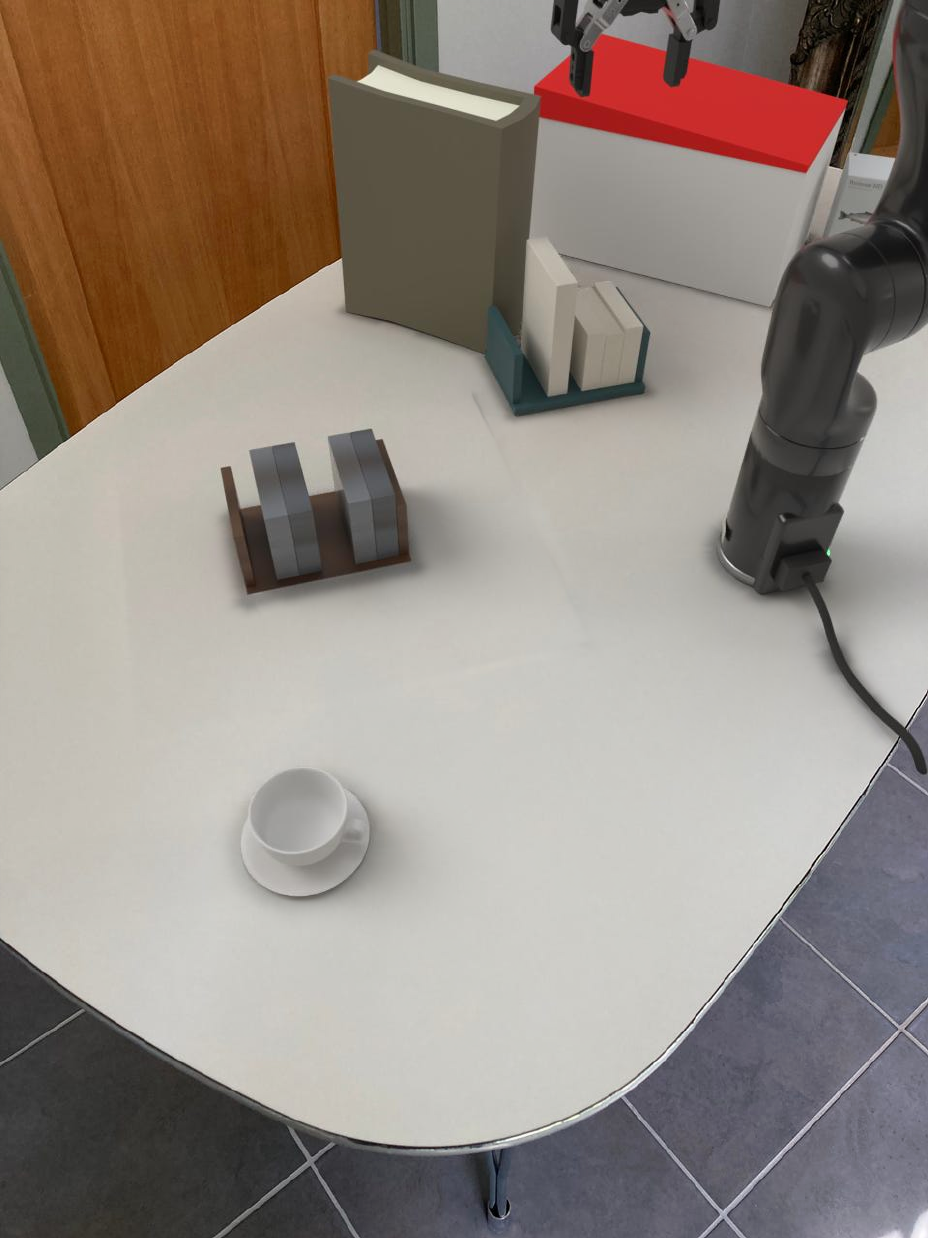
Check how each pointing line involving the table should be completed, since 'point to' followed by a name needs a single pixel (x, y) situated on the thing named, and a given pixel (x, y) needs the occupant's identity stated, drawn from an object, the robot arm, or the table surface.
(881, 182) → the white packaging box
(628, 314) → the teal book rack
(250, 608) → the table surface
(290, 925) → the table surface
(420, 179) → the book
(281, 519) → the brown book rack
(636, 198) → the red-lidded white box
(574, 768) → the table surface
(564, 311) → the white book
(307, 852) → the teacup
